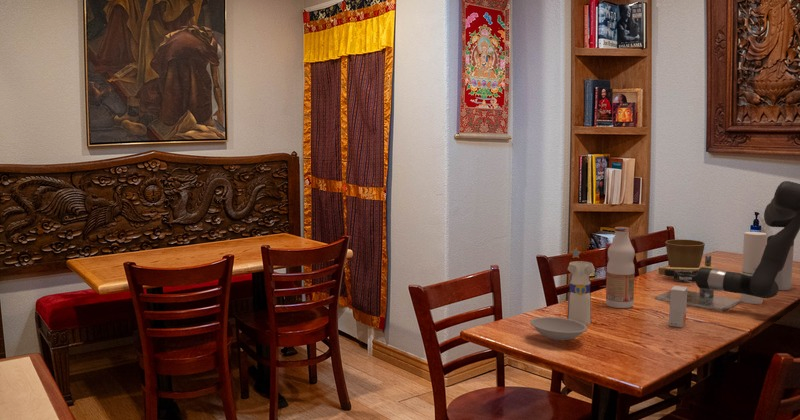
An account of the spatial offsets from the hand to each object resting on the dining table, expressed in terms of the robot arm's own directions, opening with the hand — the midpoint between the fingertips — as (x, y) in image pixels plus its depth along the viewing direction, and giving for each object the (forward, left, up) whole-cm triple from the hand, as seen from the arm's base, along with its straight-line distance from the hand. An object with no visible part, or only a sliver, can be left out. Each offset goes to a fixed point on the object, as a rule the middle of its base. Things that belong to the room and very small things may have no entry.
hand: (665, 272), depth 252 cm
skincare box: (+30, +18, -10) cm, 36 cm away
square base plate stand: (-5, +10, -10) cm, 15 cm away
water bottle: (+49, -6, -10) cm, 50 cm away
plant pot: (-34, -8, -10) cm, 37 cm away
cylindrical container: (-18, +24, -10) cm, 32 cm away
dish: (+71, 0, -10) cm, 71 cm away
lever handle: (-6, +5, -2) cm, 8 cm away
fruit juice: (+21, -7, -10) cm, 24 cm away
